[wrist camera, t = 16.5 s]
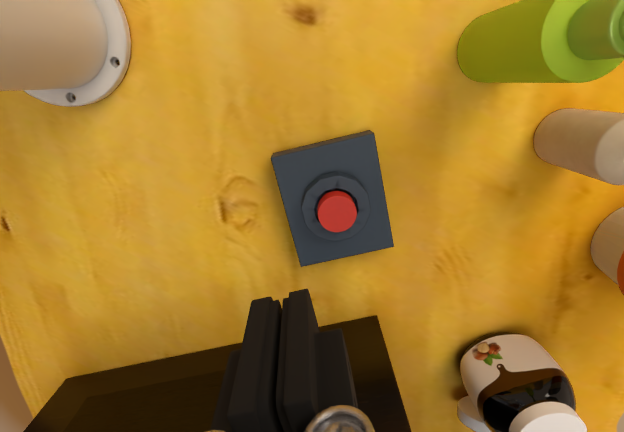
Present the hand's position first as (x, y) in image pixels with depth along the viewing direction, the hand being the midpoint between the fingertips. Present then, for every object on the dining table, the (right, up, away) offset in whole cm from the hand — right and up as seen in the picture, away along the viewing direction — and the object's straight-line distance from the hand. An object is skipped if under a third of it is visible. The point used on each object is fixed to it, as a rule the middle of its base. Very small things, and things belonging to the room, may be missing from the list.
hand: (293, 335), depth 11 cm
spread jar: (+23, -16, +36) cm, 46 cm away
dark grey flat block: (+3, +5, +28) cm, 29 cm away
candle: (+25, +12, +26) cm, 38 cm away
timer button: (+3, +4, +24) cm, 25 cm away
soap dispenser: (+17, +19, +23) cm, 34 cm away
